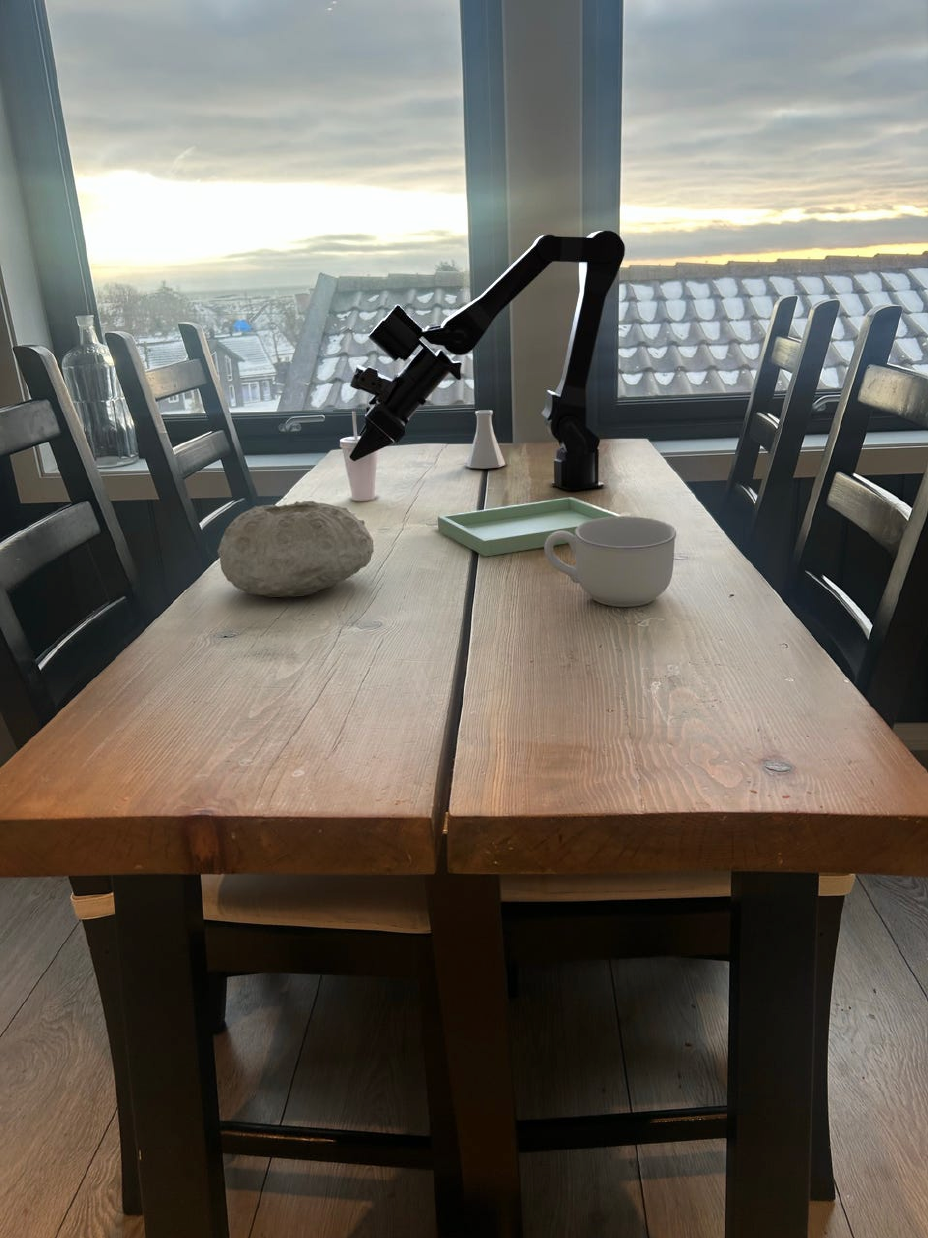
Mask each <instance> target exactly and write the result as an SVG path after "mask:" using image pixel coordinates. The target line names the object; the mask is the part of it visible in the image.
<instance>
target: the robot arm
mask: <svg viewBox="0 0 928 1238" xmlns="http://www.w3.org/2000/svg"><path fill="white" fill-rule="evenodd" d="M625 245H626V244H625V243H624V241H623V239H622V238H621V236H620V235H619V234H617V233H616V232H614V231H612V230H601V231H595V232H592V233H590V234H589V235H588V236H561V235H559V236H557V235H554V234H549V233H548V234H545V235H544V234H543V235H539V237H537V238H536V239H535V240H534V242H533V244H532V245H531V246H530V247H529V248H528V249H527V250H526V251H525V252H524V253H523V254H522V255H521V256H520V257H519V258H518V259H517V260H516V261H515V262H513V264H511V266H509V267H508V268H507V269H506V270H505V271H504V272H503V273H502V274H501V275H500V276H499V277H498V278H497V279H496V280H495V281H494V282H493V283H492V284H491V285H490V286H489V287H488V288H487V289H486V290H485V291H484V292H483V293H482V294H481V295H479V296H478V297H477V298H475V299H474V300H472V301H471V302H469V303H468V304H466V305H464V306H463V307H461V308H460V309H457V310H456V311H455V312H454V313H452V314H450V315H449V316H448V317H446V318H445V319H444V320H443V321H442V323H441V324H437V325H433V326H429V325H427V326H426V327H423V328H422V327H421V326H420V325H419V323H417V322H416V321H415V320H414V319H413V318H412V317H410V315H409V314H407V312H406V310H405V309H404V308H403V307H402V306H401V305H400V304H396V305H395V306H394V308H392V310H390V312H389V313H388V314H387V315H386V317H384V318H382V319H381V320H380V321H379V322H378V324H377V325H376V326H375V327H374V328H373V330H371V332H370V333H369V334H368V336H367V337H368V339H369V340H371V341H372V342H373V343H374V344H375V345H376V346H377V347H379V348H380V349H381V350H382V351H383V352H384V353H385V354H386V355H387V356H388V357H389V358H390V359H391V360H392V361H394V362H396V361H397V360H398V359H400V360H402V361H403V362H406V361H407V360H408V359H409V358H410V357H411V355H412V354H414V352H415V351H416V350H417V348H418V347H419V346H420V347H422V348H420V349H419V351H417V353H416V354H415V355H414V357H412V359H411V360H410V361H409V362H408V363H407V364H406V366H405V367H404V368H403V369H402V370H401V371H400V372H398V373H395V374H394V375H393V376H392V377H391V378H390V377H388V376H386V375H384V374H381V373H379V370H378V369H377V368H376V369H375V368H373V367H371V366H370V365H368V366H367V367H364V366H362V365H359V364H357V365H356V367H355V370H354V373H353V376H352V378H351V381H350V383H349V386H350V387H351V388H353V389H355V390H357V391H358V390H361V391H363V392H366V393H368V394H371V395H372V397H370V399H369V400H368V404H369V405H366V408H365V410H366V411H365V412H366V413H365V415H364V425H363V427H362V429H361V430H360V432H359V433H358V436H361V437H360V439H359V441H358V442H357V444H356V446H355V447H354V449H353V451H352V452H351V454H350V456H349V458H350V459H351V460H352V461H356V460H358V459H360V458H363V457H365V456H367V455H369V454H371V453H373V452H375V451H377V450H378V451H379V450H382V449H383V448H386V447H388V446H390V445H393V444H395V443H396V444H398V443H400V441H401V440H402V439H403V438H404V437H405V435H406V425H407V424H408V423H409V422H410V418H411V417H412V416H413V415H414V413H416V411H417V410H418V409H419V408H420V407H421V406H424V405H425V404H426V402H427V399H428V398H429V397H430V395H431V394H432V393H433V392H434V391H435V390H436V389H437V388H438V386H440V384H441V383H442V382H443V381H444V379H446V378H447V376H448V375H449V374H450V375H451V376H453V377H454V378H455V379H456V380H457V381H461V380H462V371H461V368H462V364H463V363H462V361H460V360H457V361H454V360H452V359H451V358H450V357H449V355H448V354H446V353H445V352H444V351H443V350H442V349H439V350H437V351H436V352H435V351H433V350H432V349H431V348H430V347H429V346H428V345H426V343H424V342H423V341H422V340H421V338H424V339H425V340H426V341H427V342H428V343H429V344H430V345H435V346H441V347H443V348H444V349H445V350H446V351H448V353H450V354H452V355H454V356H464V355H467V354H469V353H470V352H472V351H473V350H474V348H475V347H476V346H477V344H478V343H479V342H480V340H482V338H483V336H484V335H485V334H486V333H487V330H488V329H489V328H490V326H491V324H492V323H493V321H494V320H495V319H496V317H497V316H498V315H499V314H500V313H501V312H502V311H503V310H504V309H505V308H506V307H507V306H508V305H509V304H510V303H511V302H513V300H514V299H515V298H516V297H517V296H519V295H520V294H521V293H522V291H524V290H525V289H526V288H527V287H528V286H529V285H530V284H531V283H532V282H533V281H534V280H536V278H537V277H538V276H539V275H540V274H541V273H542V272H543V271H545V269H546V268H547V267H549V265H550V264H552V263H553V262H556V263H557V262H558V263H573V264H574V263H576V264H577V263H578V281H579V293H578V299H577V304H576V308H575V312H574V318H573V322H572V327H571V330H570V331H571V332H570V336H569V341H568V346H567V350H566V354H565V359H564V360H565V361H564V365H563V370H562V374H561V379H560V381H559V384H558V386H557V387H556V389H555V391H551V390H550V389H547V390H546V393H545V405H544V408H543V410H542V412H541V416H543V417H544V426H545V428H546V430H547V431H548V432H549V435H551V436H552V437H553V438H554V439H555V440H557V443H558V445H559V447H560V448H557V449H555V458H554V459H553V481H552V482H551V485H552V486H554V487H557V488H559V489H563V490H564V491H568V492H575V491H581V490H589V489H596V488H603V487H605V483H603V482H600V476H599V475H600V470H599V469H600V448H599V446H600V443H601V439H600V438H599V437H598V436H597V435H596V434H595V433H594V432H593V431H592V430H591V429H589V427H587V419H588V401H587V400H588V398H587V397H588V396H587V385H588V380H589V375H590V371H591V366H592V363H593V358H594V354H595V353H594V352H595V348H596V343H597V339H598V334H599V330H600V325H601V320H602V316H603V312H604V308H605V302H606V298H607V296H608V293H609V291H610V289H611V288H612V285H613V283H614V282H615V280H616V278H617V276H618V274H619V270H620V268H621V265H622V263H623V260H624V258H625V254H626V246H625ZM370 406H371V407H370Z"/></svg>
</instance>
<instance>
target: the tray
mask: <svg viewBox="0 0 928 1238" xmlns="http://www.w3.org/2000/svg"><path fill="white" fill-rule="evenodd" d="M617 516H623V515H621V514H619V513H616V512H613V511H610V510H608V509H605V508H602V507H600V506H597V505H594V504H591V503H589V502H586V501H583V500H580V499H578V498H575V497H573V496H569V497H562V498H561V497H560V498H556V499H555V498H554V499H549V500H541V501H534V502H527V503H520V504H513V505H506V506H501V507H500V506H499V507H494V508H493V507H492V508H487V509H486V508H485V509H480V510H471V511H465V512H459V513H452V514H445V515H438V516H437V531H438V532H439V533H441V534H443V535H445V536H447V537H449V538H450V539H452V540H455V541H456V542H458V543H460V544H461V545H463V546H465V547H466V548H469V549H470V550H473V551H474V552H476V553H477V554H479V555H481V556H482V557H484V558H485V557H492V556H497V555H498V556H499V555H505V554H510V553H515V552H523V551H529V550H535V549H542V548H544V546H545V542H546V540H547V538H548V537H549V536H550V535H551V534H552V533H554V532H556V531H567V532H570V533H572V534H573V535H575V530H576V528H577V527H578V526H579V525H580V524H582V523H584V522H586V521H590V520H593V519H598V518H604V517H617ZM565 544H566V545H567V544H569V543H568V542H566V541H564V540H559V541H557V542H555V544H554V546H559V545H565Z"/></svg>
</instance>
